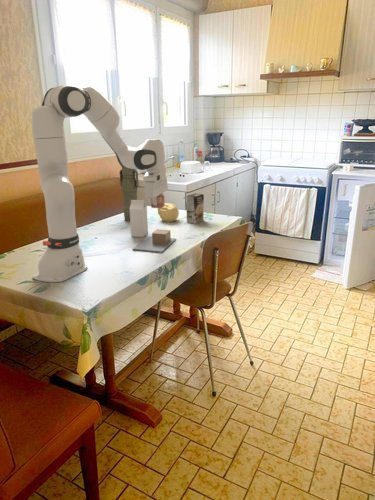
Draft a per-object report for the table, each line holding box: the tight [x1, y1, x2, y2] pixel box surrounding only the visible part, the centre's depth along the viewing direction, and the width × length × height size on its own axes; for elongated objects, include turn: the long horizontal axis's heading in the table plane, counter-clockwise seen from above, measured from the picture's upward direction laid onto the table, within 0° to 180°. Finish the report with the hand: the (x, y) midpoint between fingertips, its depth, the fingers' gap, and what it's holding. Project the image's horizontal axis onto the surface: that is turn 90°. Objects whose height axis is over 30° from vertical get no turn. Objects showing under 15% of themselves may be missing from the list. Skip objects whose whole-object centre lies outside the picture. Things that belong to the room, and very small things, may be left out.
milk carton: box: [129, 199, 149, 238], centre depth 198 cm, size 7×7×19 cm
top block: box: [150, 195, 166, 209], centre depth 181 cm, size 5×5×5 cm
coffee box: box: [186, 193, 205, 225], centre depth 223 cm, size 9×6×16 cm
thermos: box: [119, 166, 139, 222], centre depth 226 cm, size 9×12×35 cm
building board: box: [131, 228, 177, 254], centre depth 185 cm, size 20×15×6 cm
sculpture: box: [157, 202, 180, 223], centre depth 227 cm, size 12×12×11 cm
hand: (158, 203), depth 182 cm, fingers closed on top block, 5 cm apart
